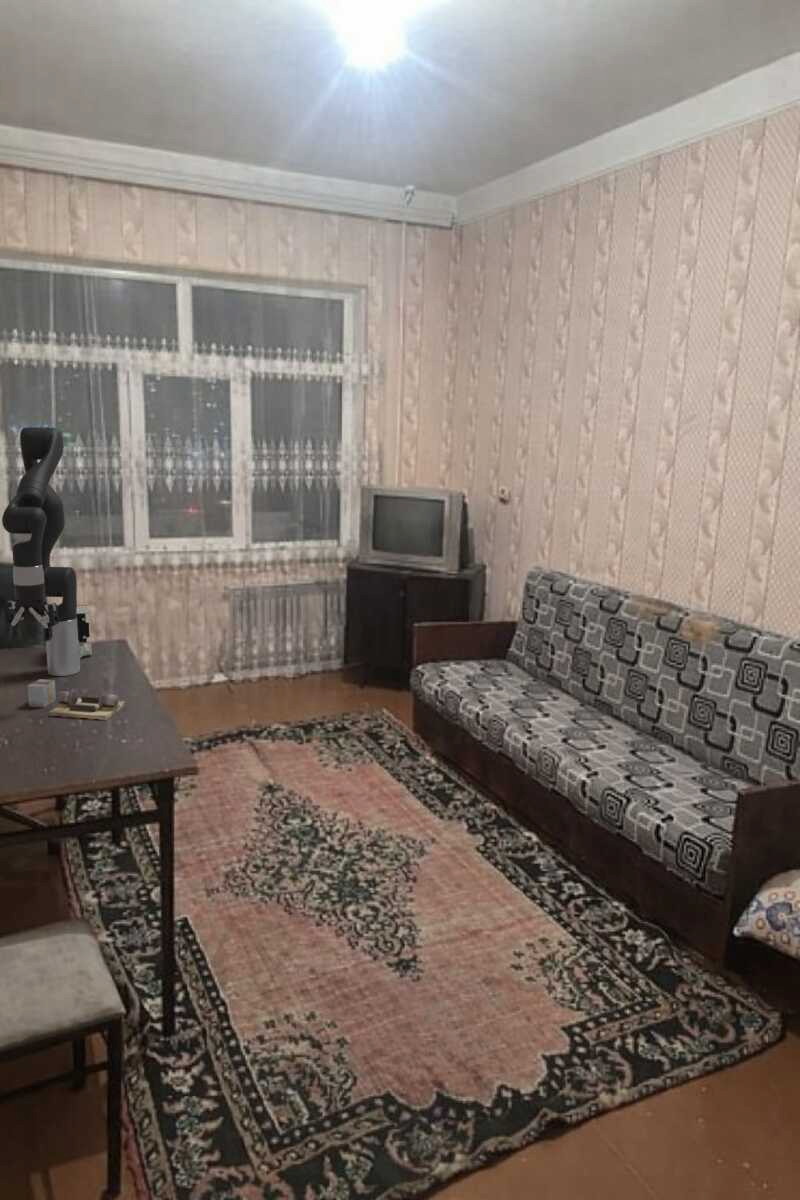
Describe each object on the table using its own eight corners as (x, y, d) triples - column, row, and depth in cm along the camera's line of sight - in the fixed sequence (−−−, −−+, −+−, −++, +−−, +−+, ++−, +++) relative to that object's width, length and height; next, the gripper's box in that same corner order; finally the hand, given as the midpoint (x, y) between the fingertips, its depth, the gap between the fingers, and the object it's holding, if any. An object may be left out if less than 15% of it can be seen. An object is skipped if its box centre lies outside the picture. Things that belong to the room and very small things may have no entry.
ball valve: (91, 663, 271) (89, 609, 267) (63, 665, 268) (60, 611, 264) (93, 648, 287) (90, 598, 283) (66, 650, 285) (63, 599, 281)
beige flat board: (72, 701, 234) (70, 682, 233) (126, 705, 233) (125, 685, 231) (49, 716, 223) (48, 695, 222) (106, 720, 221) (105, 699, 220)
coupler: (40, 699, 236) (39, 679, 234) (56, 700, 235) (55, 680, 234) (29, 706, 230) (27, 685, 228) (44, 707, 229) (43, 686, 228)
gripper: (61, 580, 227) (64, 637, 230) (12, 577, 228) (16, 634, 232) (46, 585, 219) (50, 645, 223) (-5, 582, 221) (0, 641, 225)
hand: (33, 639), depth 228 cm, fingers open, 8 cm apart
